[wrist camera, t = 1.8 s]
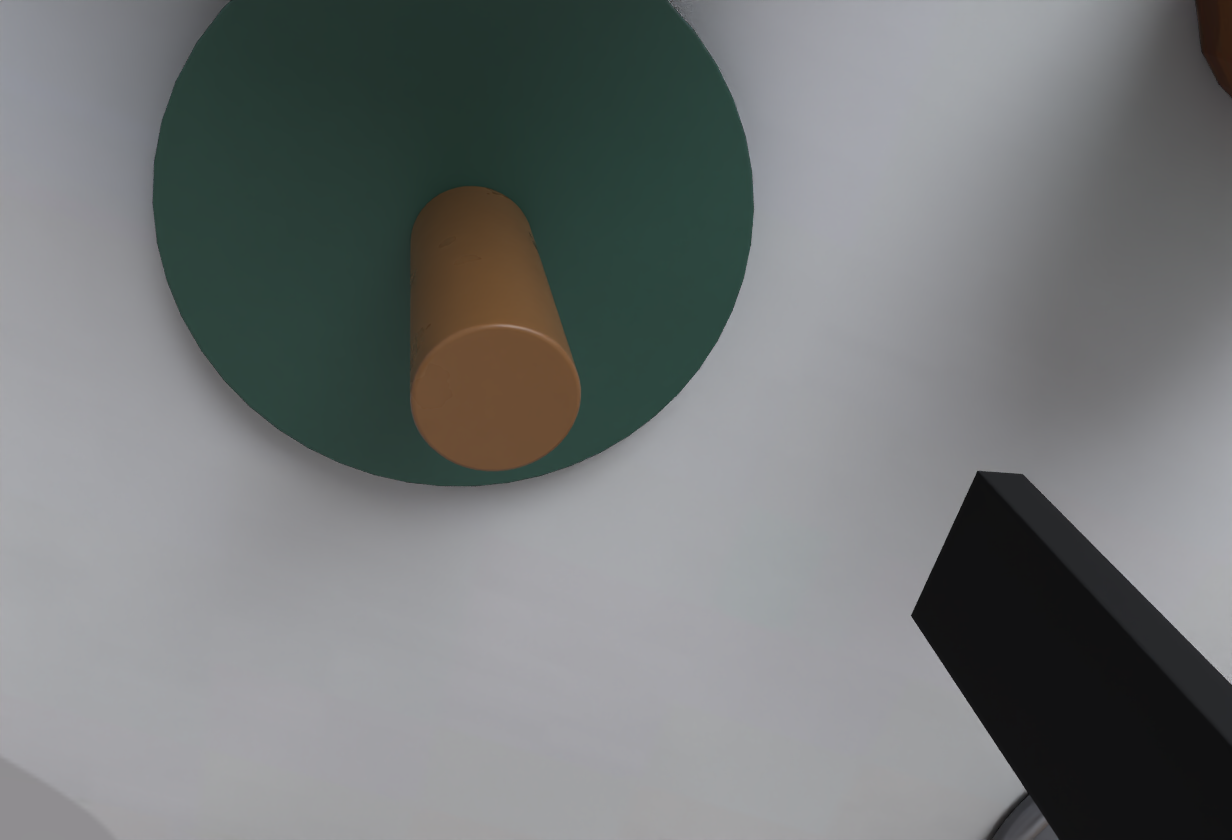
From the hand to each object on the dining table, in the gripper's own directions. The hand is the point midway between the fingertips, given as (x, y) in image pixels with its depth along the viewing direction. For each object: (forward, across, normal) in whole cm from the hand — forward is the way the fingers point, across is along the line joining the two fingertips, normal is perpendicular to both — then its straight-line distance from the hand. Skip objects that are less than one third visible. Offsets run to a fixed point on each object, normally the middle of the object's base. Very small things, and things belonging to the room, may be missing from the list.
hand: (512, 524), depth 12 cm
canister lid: (+12, 0, 0) cm, 12 cm away
